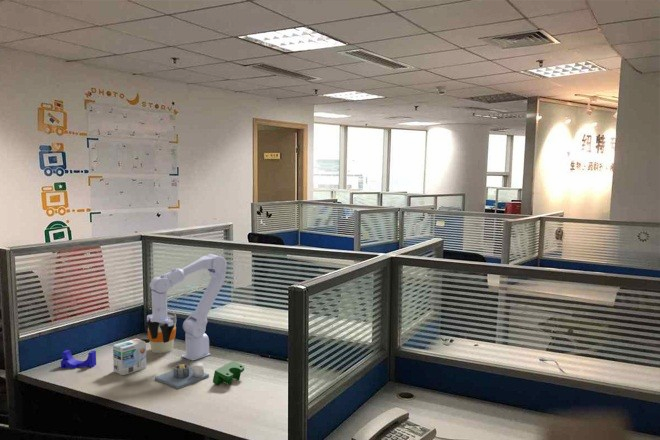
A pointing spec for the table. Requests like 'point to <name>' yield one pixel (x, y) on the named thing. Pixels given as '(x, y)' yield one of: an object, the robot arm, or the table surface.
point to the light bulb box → (129, 356)
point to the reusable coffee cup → (158, 343)
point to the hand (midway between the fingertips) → (160, 340)
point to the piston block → (194, 376)
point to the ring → (181, 372)
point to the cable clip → (73, 363)
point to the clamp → (228, 373)
